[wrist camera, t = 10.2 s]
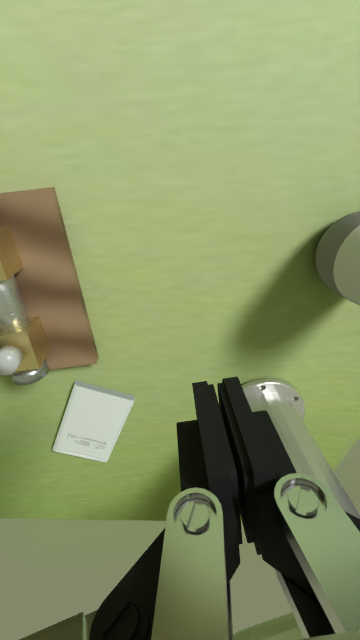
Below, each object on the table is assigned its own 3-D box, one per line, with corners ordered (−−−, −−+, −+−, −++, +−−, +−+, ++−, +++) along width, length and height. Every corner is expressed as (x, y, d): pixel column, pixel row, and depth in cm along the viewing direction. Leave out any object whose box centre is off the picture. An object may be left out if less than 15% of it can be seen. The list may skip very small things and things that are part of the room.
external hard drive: (135, 393, 43) (108, 454, 47) (76, 377, 41) (54, 442, 46) (134, 401, 41) (106, 463, 46) (73, 385, 39) (51, 451, 44)
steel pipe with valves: (55, 361, 37) (44, 382, 34) (18, 366, 37) (4, 387, 34) (2, 205, 29) (-19, 209, 26) (-44, 210, 29) (-72, 215, 26)
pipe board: (98, 357, 39) (96, 363, 38) (-13, 371, 39) (-19, 378, 37) (54, 187, 30) (49, 188, 29) (-90, 203, 30) (-101, 205, 29)
